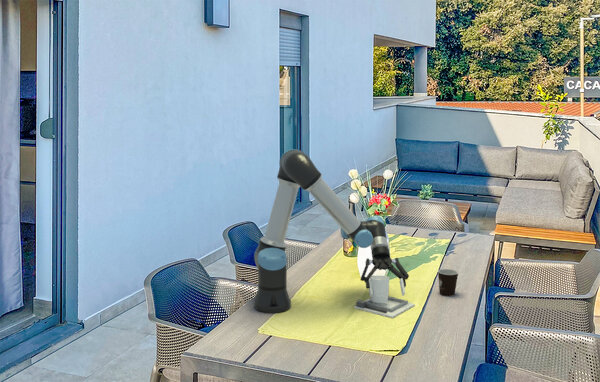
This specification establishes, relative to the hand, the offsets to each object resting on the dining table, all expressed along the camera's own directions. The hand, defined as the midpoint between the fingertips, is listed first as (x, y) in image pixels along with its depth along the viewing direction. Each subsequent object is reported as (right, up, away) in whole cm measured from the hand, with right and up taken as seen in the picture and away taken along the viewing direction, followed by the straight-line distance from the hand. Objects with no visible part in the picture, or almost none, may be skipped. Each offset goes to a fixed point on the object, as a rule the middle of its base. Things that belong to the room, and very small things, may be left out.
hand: (387, 294), depth 256 cm
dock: (0, -5, +3) cm, 6 cm away
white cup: (-3, -3, +3) cm, 5 cm away
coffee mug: (+29, -3, +21) cm, 36 cm away
